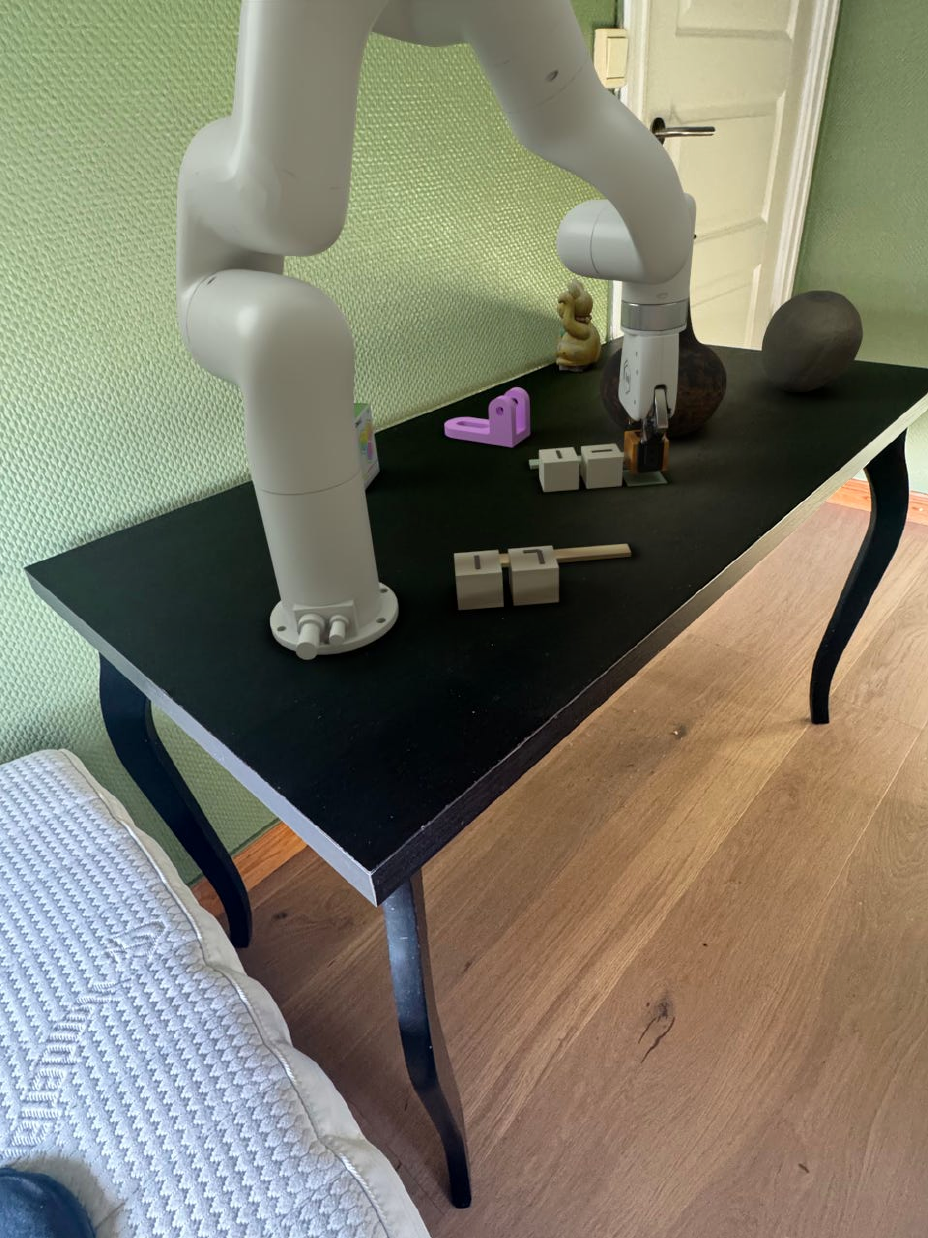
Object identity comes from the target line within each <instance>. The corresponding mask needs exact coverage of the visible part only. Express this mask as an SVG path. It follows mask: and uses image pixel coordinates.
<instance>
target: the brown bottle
mask: <svg viewBox="0 0 928 1238" xmlns="http://www.w3.org/2000/svg"><path fill="white" fill-rule="evenodd" d="M697 237H698V236H697V234H696V233H694V240H696V239H697ZM690 291H691V289H690V290H689V302H688V313H687V324H686V329H684V330H683V331H681V332H679V356H678V381H677V395H676V404H675V411H674V414H673V415H672V416H671V417H670V418H667V419H668V430H667V431H666V433H665V436H666V438H667V439H668V438H673V437H679V436H683V435H687V434H689V433H691V432H693V431H695V430H697V429H699V428H700V427H702V426H703V425H705V424H706V423H707V422H708V421H709V420H710V419H711V418H712V417H713V416H714V415H715V413H716V412H717V410H718V409H719V407H720V406H721V404H722V402H723V400H724V397H725V394H726V391H727V382H728V381H727V380H728V379H727V371H726V369H725V366H724V363H723V361H722V360H721V358H720V356H718V354H717V353H716V352H715V351H714V350H713V349H712V348H710V347H709V346H707V345H705V344H704V343H702V342H700V341H699V340H698V339H697V336H696V333H695V330H694V327H693V320H692V312H691V297H690V296H691V292H690ZM621 357H622V347H621V348H619V349H618V350H617V351H615V352H614V353H613V354H612V355H611V356H610V357H609V358H608V360H607V361H606V363H605V364H604V366H603V368H602V371H601V373H600V378H599V394H600V399H601V401H602V404H603V406H604V409H605V411H606V412H607V414H608V415H609V417H610V418H611V419H612V420H613V422H615V424H617V426H619V427H620V428H621V429H622V430H624V431H628V427H630V425H629V414H628V412H627V411H626V410H625V408H624V407H623V405H622V404H621V402H620V400H619V380H620V368H621ZM653 416H654V412H653ZM653 424H654V422H651V424H648V425H653Z"/></svg>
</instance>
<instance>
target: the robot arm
mask: <svg viewBox="0 0 928 1238" xmlns="http://www.w3.org/2000/svg"><path fill="white" fill-rule="evenodd" d="M239 12H240V13H239V20H238V21H239V23H238V35H237V51H236V61H235V72H234V73H235V74H234V89H233V92H234V93H233V102H232V110H231V115H229V116H224V117H221V118H217V119H215V120H213V121H211V122H209V123H207V124H206V125H204V126H202V127H201V129H199V130H198V132H197V133H196V134H195V135H194V136H193V137H192V139H191V140H190V142H189V143H188V146H187V148H186V150H185V152H184V154H183V158H182V161H181V163H180V167H179V168H180V169H179V172H178V179H177V188H176V189H177V191H176V224H175V225H176V226H175V227H176V231H175V232H176V233H175V235H176V236H175V237H176V239H175V240H176V241H175V242H176V245H175V247H176V248H175V281H176V282H175V284H176V285H175V293H176V294H175V298H176V299H175V301H176V316H177V317H176V318H177V324H178V329H179V333H180V337H181V340H182V343H183V345H184V347H185V348H186V351H187V352H188V354H189V356H190V357H191V358H192V360H194V362H195V363H196V364H197V365H198V366H199V367H200V368H201V369H203V370H204V371H205V372H206V373H208V374H210V375H212V376H213V377H216V378H217V379H220V380H222V381H224V382H226V383H228V384H230V385H232V386H234V387H236V388H237V389H240V391H241V394H242V401H243V417H244V418H243V421H244V422H243V433H244V434H243V435H244V446H245V453H246V458H247V463H248V467H249V472H250V476H251V480H252V484H253V488H254V491H255V496H256V499H257V504H258V508H259V512H260V517H261V520H262V526H263V528H264V529H263V530H264V533H265V534H264V535H265V538H266V542H267V547H268V549H269V550H268V551H269V555H270V559H271V562H272V567H273V570H274V571H273V572H274V576H275V579H276V584H277V588H278V591H279V596H280V601H279V602H278V603H277V604H276V605H275V606H274V608H273V609H272V611H271V613H270V617H269V625H270V628H271V632H272V636H273V637H274V639H275V640H276V642H278V643H279V644H280V645H281V646H283V647H285V648H287V649H289V650H291V651H294V652H295V654H296V656H298V657H299V659H302V660H305V661H306V660H309V661H311V660H313V659H315V658H316V657H317V656H318V655H320V656H321V655H324V656H325V655H335V654H341V653H346V652H351V651H354V650H356V649H357V650H358V649H359V648H360V649H361V648H362V647H366V646H367V645H369V644H371V643H374V642H376V641H377V640H378V639H380V638H381V637H383V636H385V635H386V633H387V632H388V631H390V630H391V629H392V628H393V626H394V625H395V624H396V621H397V619H398V617H399V602H398V598H397V596H396V594H395V592H394V591H393V590H392V589H391V588H390V587H389V586H387V585H386V584H384V583H382V582H379V576H378V569H377V563H376V555H375V548H374V543H373V536H372V535H373V534H372V530H371V521H370V516H369V510H368V503H367V497H366V490H365V489H364V482H363V476H362V469H361V463H360V456H359V450H358V442H357V435H356V427H355V416H354V403H355V372H356V370H355V369H356V367H355V366H356V359H355V358H356V356H355V344H354V338H353V334H352V330H351V327H350V324H349V322H348V320H347V317H346V316H345V314H344V312H343V310H342V309H341V308H340V306H339V305H338V304H337V303H336V302H335V300H334V299H333V298H332V297H330V296H329V295H328V294H327V293H326V292H325V291H324V290H322V289H320V288H319V287H317V286H316V285H314V284H312V283H310V282H308V281H305V280H303V279H300V278H297V277H294V276H289V275H285V274H284V271H285V259H286V258H285V257H296V258H297V257H298V258H299V257H300V258H301V257H302V258H305V257H313V256H317V255H320V254H322V253H323V252H326V251H327V250H329V249H330V248H331V247H332V246H334V244H335V243H336V242H337V241H338V240H339V238H340V236H341V234H342V231H343V230H344V227H345V225H346V220H347V216H348V209H349V202H350V201H349V200H350V192H351V191H350V188H351V179H352V166H353V156H354V155H353V154H354V153H353V152H354V143H355V142H354V141H355V130H356V129H355V127H356V117H357V104H358V94H359V86H360V80H361V71H362V65H363V59H364V55H365V51H366V47H367V44H368V40H369V37H370V36H371V33H375V34H377V35H381V36H382V37H383V36H384V37H386V38H390V39H394V40H397V41H400V42H404V43H408V44H413V45H418V46H422V47H428V48H444V47H450V46H456V45H462V44H468V45H469V46H470V47H471V49H472V51H473V53H474V55H475V57H476V59H477V61H478V63H479V65H480V66H481V69H482V71H483V73H484V75H485V77H486V79H487V81H488V84H489V85H490V88H491V89H492V93H494V96H495V98H496V100H497V102H498V104H499V107H500V109H501V110H502V113H503V115H504V117H505V119H506V121H507V123H508V125H509V128H510V130H511V132H512V135H513V136H514V137H515V139H516V141H517V142H518V143H519V144H520V145H521V146H522V147H523V148H525V149H526V150H528V151H530V152H531V153H532V154H534V155H535V156H537V157H539V158H541V159H542V160H543V161H545V162H547V163H549V164H551V165H553V166H555V167H558V168H560V169H561V170H564V171H566V172H568V173H569V174H572V175H574V176H576V177H578V178H579V179H581V180H583V181H585V182H586V183H588V184H589V185H590V186H592V187H593V188H594V189H595V190H597V191H598V192H599V193H600V194H602V196H603V197H605V198H604V199H603V198H602V199H601V198H600V199H598V198H597V199H590V200H586V201H585V200H584V201H582V202H580V203H578V204H577V205H575V206H574V207H573V208H572V209H570V210H569V211H568V212H567V213H566V214H565V215H564V216H563V219H562V220H561V222H560V224H559V226H558V229H557V233H556V238H555V245H556V252H557V255H558V258H559V260H560V262H561V264H563V266H564V267H565V268H566V269H567V270H568V271H570V272H571V273H572V274H575V275H577V276H580V277H584V278H588V279H595V280H602V281H614V282H615V281H616V282H621V301H620V302H621V303H620V322H619V323H620V325H619V329H620V331H621V332H622V333H623V339H622V340H623V341H622V346H621V348H622V357H621V368H620V380H619V400H620V402H621V404H622V405H623V407H624V408H625V410H626V411H627V412H628V414H629V425H630V427H628V431H637V430H641V441H638V449H637V467H636V470H637V472H638V473H646V472H658V471H660V472H662V471H661V470H662V469H663V458H664V445H665V433H666V431H667V430H668V419H667V418H670V417H671V416H672V415H673V414H674V411H675V404H676V395H677V381H678V356H679V332H681V331H683V330H684V329H686V324H687V313H688V302H689V290H690V291H691V278H692V266H693V255H694V245H695V244H694V243H695V239H694V234H696V233H695V232H696V231H695V230H696V219H697V203H696V200H695V198H694V196H693V195H692V194H690V193H687V192H684V190H683V189H684V188H683V186H682V182H681V179H680V177H679V173H678V171H677V169H676V166H675V164H674V161H673V160H672V158H671V156H670V154H669V152H668V151H667V150H666V148H665V147H664V146H663V144H662V143H661V141H660V140H659V139H658V138H657V136H656V135H655V134H654V133H653V132H652V131H651V130H650V129H649V128H648V127H647V126H646V125H645V124H644V123H643V121H642V120H640V119H639V118H638V117H637V115H636V114H635V113H634V112H633V111H632V110H631V109H630V108H629V107H628V106H627V105H625V103H624V102H622V101H621V100H620V99H619V98H618V97H617V96H615V95H614V94H613V93H612V92H610V90H609V89H607V87H606V86H605V85H604V84H603V82H602V81H601V79H600V76H599V75H598V72H597V70H596V67H595V65H594V62H593V59H592V56H591V54H590V51H589V47H588V46H587V42H586V40H585V38H584V35H583V32H582V30H581V29H582V28H581V27H580V23H579V21H578V18H577V15H576V14H575V11H574V8H573V6H572V3H571V0H241V3H240V11H239ZM653 412H654V416H653ZM651 422H654V424H653V425H648V424H651ZM647 430H648V431H647Z"/></svg>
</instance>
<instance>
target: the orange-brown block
mask: <svg viewBox="0 0 928 1238" xmlns="http://www.w3.org/2000/svg"><path fill="white" fill-rule="evenodd" d="M624 431H625V432H624V443H623V452H624V462H623V463H624V464H625V465H626V467H627V470H629V471H630V472H631V474H636V473H638V472H637V470H636V467H637V449H638V441H641V430H637V431H626V430H624ZM647 431H648V430H647ZM669 444H670V440H669V439H668V438H666V436H665V445H664V458H663V469H662V470H661V471H660V472H666V471H667V470H668V456H669ZM658 472H659V471H658ZM646 473H648V472H646Z"/></svg>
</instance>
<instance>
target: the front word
mask: <svg viewBox="0 0 928 1238" xmlns="http://www.w3.org/2000/svg"><path fill="white" fill-rule="evenodd" d="M631 557H632V551H631V549H630V547H629V544H628V543H620V544H619V543H617V544H605V545H593V546H582V547H570V548H569V547H568V548H558V549H554V547H553V545H543V546H530V547H519V548H507V553H500V551H499V549H493V550H482V551H481V550H480V551H470V552H457V553H456V552H455V553H453V560H454V570H455V571H454V573H455V585H456V586H455V587H456V596H457V607H458V609H457V610H458V611H465V610H467V611H468V610H478V609H490V608H503V607H504V605H505V603H504V586H503V585H504V584H503V582H504V581H503V570H502V568H508V578H509V579H508V581H509V588H510V594H511V599H512V604H513V606H526V605H528V606H529V605H539V604H540V605H541V604H552V603H553V604H554V603H559V601H560V566H559V564H560V563H572V562H573V563H574V562H586V561H598V560H608V559H621V558H622V559H623V558H631Z"/></svg>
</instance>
